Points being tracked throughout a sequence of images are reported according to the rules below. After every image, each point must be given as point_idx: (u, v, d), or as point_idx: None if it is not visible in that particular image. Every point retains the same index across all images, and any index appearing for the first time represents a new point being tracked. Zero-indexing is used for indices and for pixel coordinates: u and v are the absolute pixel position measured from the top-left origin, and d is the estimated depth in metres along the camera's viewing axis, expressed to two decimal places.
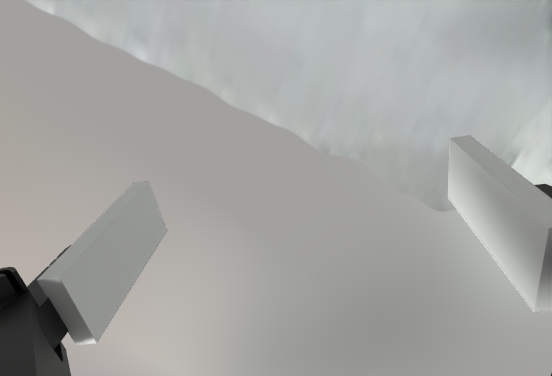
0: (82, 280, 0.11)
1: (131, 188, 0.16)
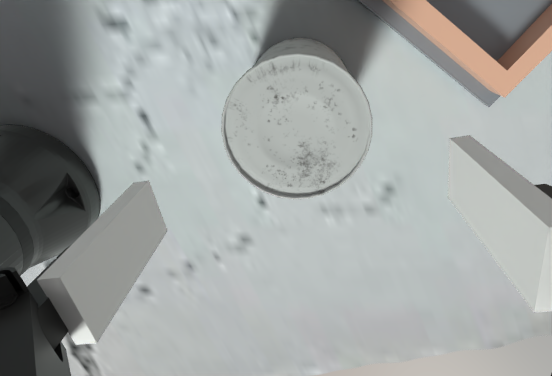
0: (82, 280, 0.11)
1: (131, 188, 0.16)
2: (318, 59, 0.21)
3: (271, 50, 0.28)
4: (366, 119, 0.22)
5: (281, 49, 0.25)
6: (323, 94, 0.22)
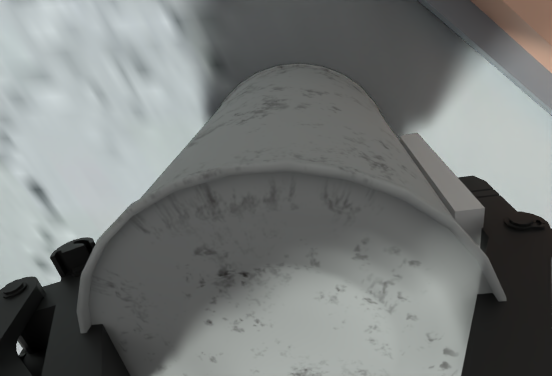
0: None
1: None
2: (357, 181, 0.06)
3: (238, 96, 0.13)
4: None
5: (252, 108, 0.10)
6: (365, 271, 0.07)
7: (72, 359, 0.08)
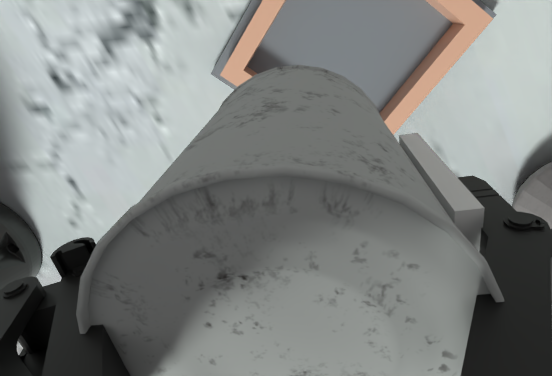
0: None
1: None
2: (355, 185, 0.06)
3: (238, 98, 0.13)
4: None
5: (252, 110, 0.10)
6: (364, 275, 0.07)
7: (72, 359, 0.08)
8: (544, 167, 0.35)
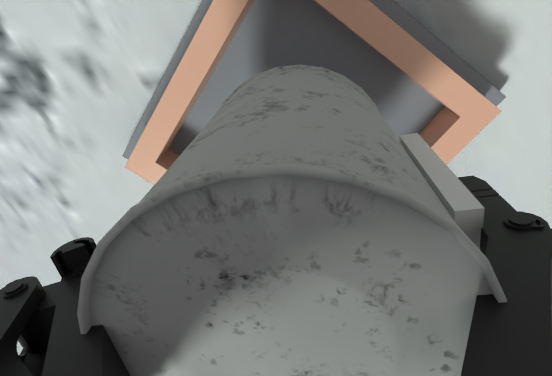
0: None
1: None
2: (357, 184, 0.06)
3: (239, 98, 0.13)
4: None
5: (253, 109, 0.10)
6: (365, 274, 0.07)
7: (72, 359, 0.08)
8: None
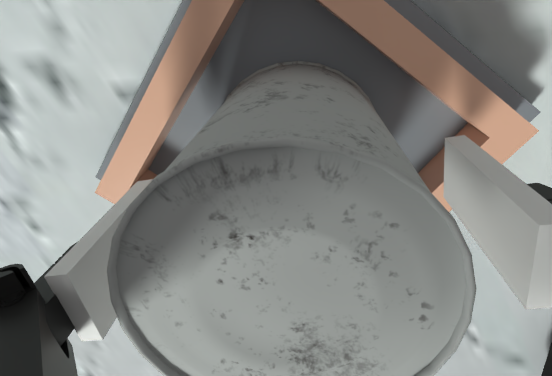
0: (88, 277, 0.11)
1: (135, 187, 0.16)
2: (344, 153, 0.07)
3: (243, 90, 0.15)
4: (459, 288, 0.09)
5: (256, 99, 0.12)
6: (353, 233, 0.08)
7: None
8: None
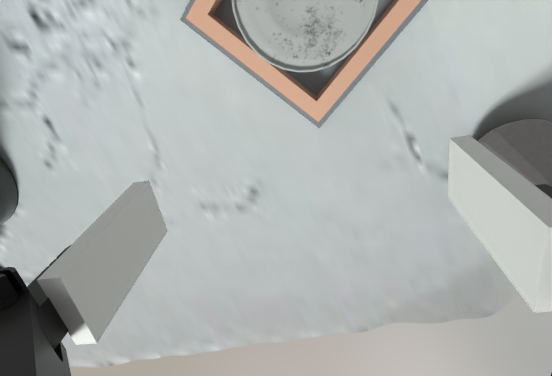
0: (82, 280, 0.11)
1: (131, 188, 0.16)
2: None
3: None
4: None
5: None
6: None
7: None
8: (491, 130, 0.36)
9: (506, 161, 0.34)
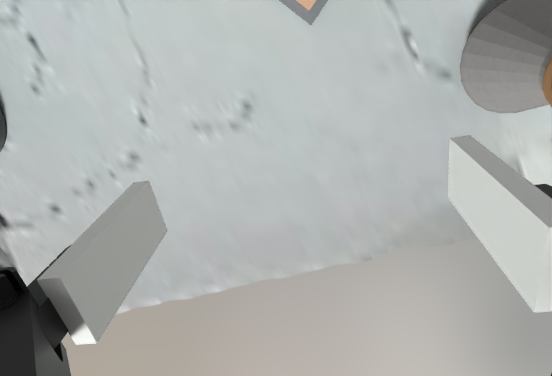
0: (82, 280, 0.11)
1: (131, 188, 0.16)
2: None
3: None
4: None
5: None
6: None
7: None
8: None
9: (507, 33, 0.32)
